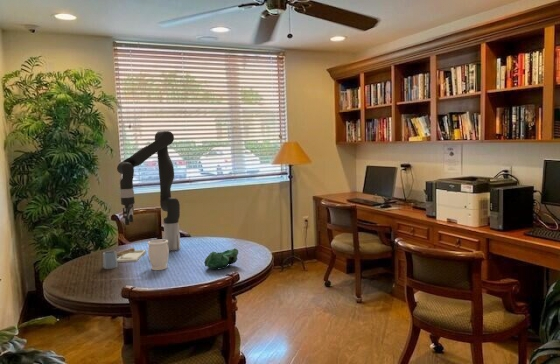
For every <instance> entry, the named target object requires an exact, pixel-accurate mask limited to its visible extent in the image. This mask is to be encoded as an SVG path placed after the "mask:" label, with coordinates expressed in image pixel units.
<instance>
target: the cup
mask: <svg viewBox="0 0 560 364" xmlns="http://www.w3.org/2000/svg"><path fill="white" fill-rule="evenodd" d="M117 252H118V251H116V250H108V251H103V253H102V263H103V264H102V265H103V269H105V270H109V269H110V270H111V269H115V268H116V269H117V267H118V262H117V259H118V256H117Z"/></svg>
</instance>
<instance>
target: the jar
mask: <svg viewBox="0 0 560 364" xmlns="http://www.w3.org/2000/svg"><path fill="white" fill-rule="evenodd" d="M167 243H168V240H165V238H163V239H152V240H149V241H147V244H148V248H147V249H148V251H147V252H148V258H149V263H150V265H151V267H150V268H151V270H152V271H162V270H166V269H167V268H168V265H167V264H168V262H169V255H170V253H169V252H170V251H169V249H168V245H167Z"/></svg>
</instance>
